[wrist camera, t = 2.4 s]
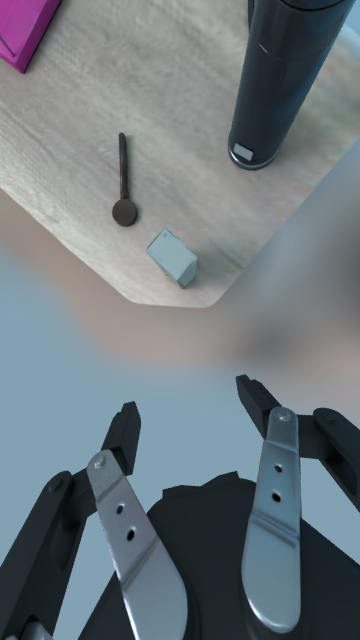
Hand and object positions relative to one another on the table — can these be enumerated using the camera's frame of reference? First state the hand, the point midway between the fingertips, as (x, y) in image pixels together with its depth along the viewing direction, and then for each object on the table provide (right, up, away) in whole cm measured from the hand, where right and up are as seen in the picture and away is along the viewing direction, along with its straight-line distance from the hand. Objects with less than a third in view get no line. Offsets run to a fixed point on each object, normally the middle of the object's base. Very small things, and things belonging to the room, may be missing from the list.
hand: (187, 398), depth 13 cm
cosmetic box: (-1, +16, +22) cm, 27 cm away
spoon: (-12, +34, +21) cm, 42 cm away
